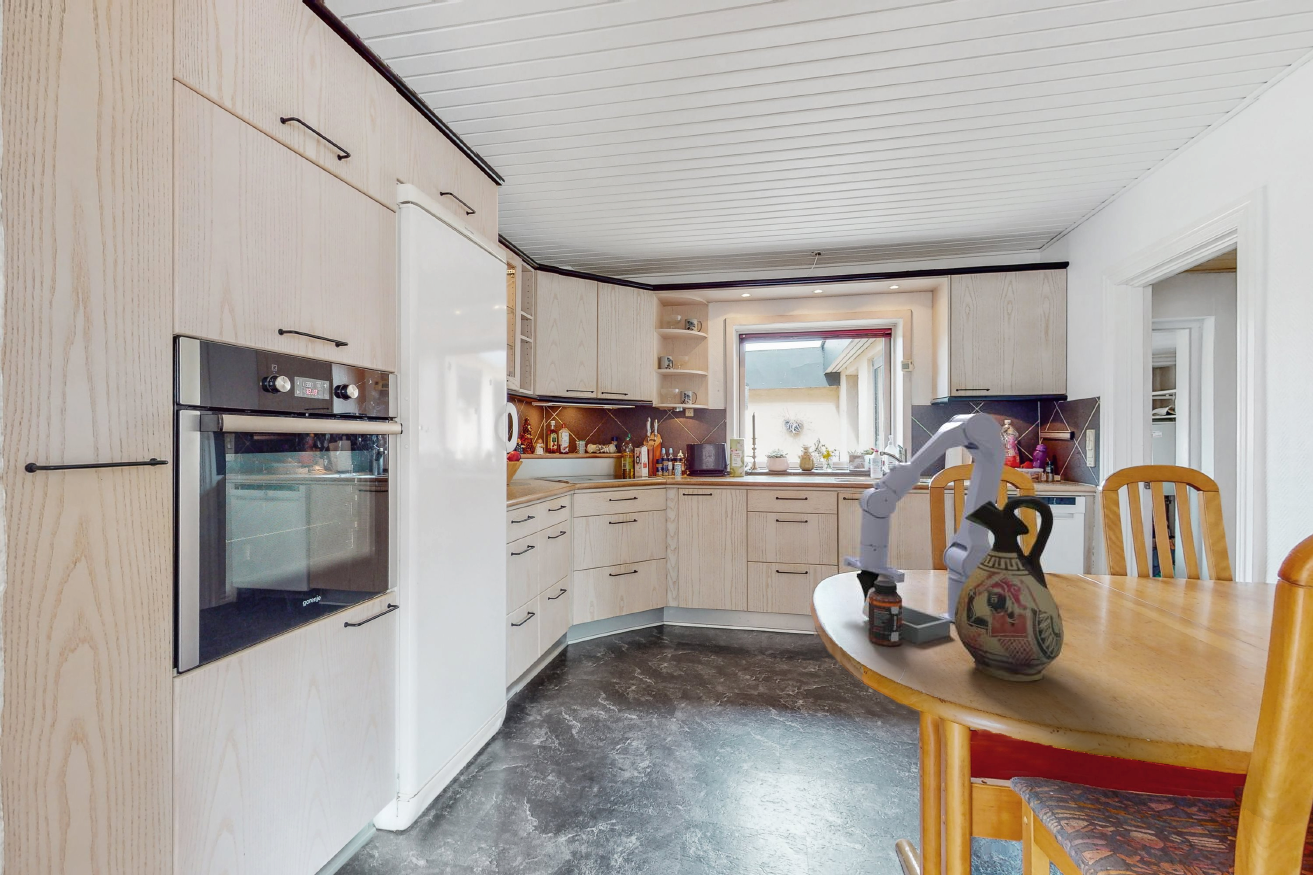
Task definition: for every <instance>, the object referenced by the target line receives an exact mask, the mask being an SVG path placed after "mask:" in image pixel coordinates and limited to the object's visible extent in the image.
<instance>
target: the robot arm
mask: <svg viewBox="0 0 1313 875" xmlns="http://www.w3.org/2000/svg"><path fill="white" fill-rule="evenodd" d="M1002 429H1003V427H1002V426H1001V424H1000V423H999V422H998V421H997V420H996V419H995V418H994V417H993V416H992V415H990V414H989V413H985V412H977V413H971V414H970V413H969V414H957V415H954V416H952V417H951V418H950V419H949V420H948V422H945V423H944V424H942V425H941V426H940V428H939V429H938V431H937V432H935V433H934V434H933V435H932V437H930V439H929V440H928V441H927V442H926V443H925V444H924V445H923V446H922V447H921V448H920V449H919V450H918V451H917V452H916V453H915V454H914V455H913V456H912V457H911V458H910V459H909V461H907V462H898V463H897V464H892V465H890V466H889V467H888V472H887V473H886V474H884V476H883V477H882V478H880V480H879V481H874V482H873V483H872V486H873V487H872V488H866V490H864V491H863V492H862V493H861V495H860V498H859V499H858V505H859V507H860V509H861V510H862V512H861V525H860V541H859V554H858V555H859V558H858V557H853V556H844V557H843V558H844V559H843V565H844V566H845V567H851V568H854V569H857V570H860V572H859V573H856V578H857V580H858V582H859V584H860V587H861V590H862V593H863V597H864V598H863V601H864V604H865V601H866V598H867V595H868V592H869V590H870V589H871V588H873V587H874V582H875V581H877V580H878V577H879V575H884V576H885V577H887V578H888V579H890V580H893V581H894V582H895V583H896V584H899V583H900V584H901V583H905V579H906V578H905V574H906V573H905V572H902V571H901V570H900V571H899V570H898V569H895V568H894V567H891V566H889V565H888V563H889V562H888V561H889V545H890V543H889V542H890V530H891V529H890V528H891V525H890V522H891V515H892V514H894V513H895V511H896V508H897V503H898V502H900V501H901V500H902V499H903V498H904V497H905V496H907V494H908V493H909V492H910V491H912V490H913V489H914V488H915V487H916V486H918V484H919V483H920V481H921V473H922V472H924V471H925V470H926V469H927V468H928V467H930V465H932V463H934V462H936V460H938V458H940V457H941V456H942V455H943V454H945V453H946V452H947V451H948V450H949V449H953V448H954V449H955V448H958V447H963V448H964V449H965V450H966V452H968V453H969V454H970V456H971V457H972V458H973V459H974V463H973V468H972V472H971V476H970V477H971V478H970V482H969V485H968V489H967V493H966V494H967V495H966V498H965V503H964V507H963V511H962V515H961V516H962V517H961V520H960V525H959V528H958V529H959V530H957V532H956V533H955V534H953V535H952V537H951V538H950V539H951V540H950V542H949V545H948V546H947V547H946V549H945V550H944V551H943V553H942V554H943V555H942V561H943V564H944V566H946V568H947V569H948V574H947V612H946V613H941V614H938V615H937V616H939V617H942V618H945V619H948V620H950V622H951V623H955V610H956V606H957V602H958V598H959V595H960V593H961V590H962V588H963V586H964V584H965V582H966V581H967V579H968V578H969V577H970V575H971V574H972V573H973V571H974V570H975V568H976V567H977V566H978V565H979V563H980V562H981V561H982V560H983V559H984V558H985V556H986V555H987V554H988V553H989V552H990V550H991V549H992V547H993V546H992V545H991V543H990V541H989V539H988V537H989V532H990V530H989V529H987V528H985V527H983V526H981V525H978V524H976V523H973V522H971V521H969V520H967V519H965V517H967V516H968V515H969V514H970V513H972V512H974V511H975V510H976V509H978V508H979V507H980V506H981V505H983V504H985V503H986V502H988V501H992V502H993V503H994V504H995V505H996V501H997V499H998V493H999V490H1000V489H999V488H1000V484H1001V481H1002V477H1003V472H1004V468H1005V462H1006V459H1007V454H1006V448H1005V445H1004V443H1003V438H1002V435H1001V433H1002Z"/></svg>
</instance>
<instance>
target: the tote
mask: <svg viewBox="0 0 1313 875" xmlns="http://www.w3.org/2000/svg"><path fill="white" fill-rule="evenodd" d="M948 636H951V621H950V620H948V619H945V618H942V617H939V616H938V615H935V614H932V613H929V612H926V611H923V610H920V609H916V608H913V607H910V606H907V605H903V604H902V639H904V640H907V641H910V642H911V643H912V642H913V643H914V644H917V645H919V644H924V643H926V642H930V641H934V640H939V639H941V638H945V637H948Z"/></svg>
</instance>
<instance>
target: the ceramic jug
mask: <svg viewBox="0 0 1313 875" xmlns="http://www.w3.org/2000/svg"><path fill="white" fill-rule="evenodd" d="M1021 508H1025V509H1029V510H1034V511H1035V512H1037V513H1038V514H1039V516H1040V519H1041V520H1040V525H1039V529H1038V531H1037V534H1036V538H1035V541H1034V543H1033V544H1032V546H1031V548H1030V550H1029V552H1028V554H1027V555H1025V552H1024V550H1023V549H1022V547H1021V545H1020V543H1019V540H1018V537H1019V536H1025V535H1028V534H1030V529H1029V527H1028V525H1027V524H1026V523H1025V522H1024V521H1023V520H1022V518H1020V517H1019V516H1017V515H1016V513H1015V511H1016V510H1017V509H1021ZM965 519H967V520H969V521H971V522H973V523H976V524H978V525H981V526H983V527H985V528H987V529H989V532H991V533H992V535H993V539H994V541H993V543H992V546H991V547H992V549H991V550H990V552H989V553H988V554H987V555H986V556H985V558H984V559H983V560H982V561H981V562H980V563H979V565H978V566H977V567H976V568H975V570H974V571H973V573H972V574H971V575H970V577H969V578H968V579H967V581H966V582H965V584H964V586H963V588H962V590H961V593H960V595H959V598H958V602H957V606H956V610H955V622H954V624H955V625H954V626H955V629H956V633H957V636H958V638H959V640H960V642H961V644H962V645H963V647H964V648H965V649H966V651H967V652H968V654H969V655H970V656H971V657H972V659H973V660H974V661H973V663H974V666H975V667H976V669H978V671H980V672H982V673H984V674H986V675H988V676H991V677H994V678H997V679H1000V680H1005V681H1011V682H1032V681H1037V680H1041V679H1043V676H1044V675H1043V674H1042V671H1043V670H1045V669H1046V668H1048V666H1049V665H1050V664H1051V663H1052V662H1054V661H1055V660H1056V659H1057V658H1059V657H1060V654H1061V652H1062V648H1063V644H1064V639H1065V638H1064V637H1065V636H1064V635H1065V633H1064V632H1065V630H1064V626H1063V625H1064V624H1063V618H1062V615H1061V612H1060V608H1059V607H1058V604H1057V603H1056V601H1055V599H1054V596H1053V595H1052V592H1051V591H1050V589H1049V587H1048V584H1047V581H1046V576H1045V573H1044V570H1043V568H1042V565H1041V562H1040V561H1041V557H1042V555H1043V552H1044V550H1046V549H1045V548H1046V546H1047V543H1048V540H1049V538H1050V536H1051V534H1052V531H1053V527H1054V515H1053V510H1052V508H1051V507H1050V505H1049V503H1048V502H1047V501H1045V500H1044V499H1042V498H1040V497H1038V496H1036V495H1029V494H1026V495H1025V494H1024V495H1017V496H1015V497H1012V498H1010V499H1009V500H1008V501H1006V503H1004V505H1003V507H1002V509H999V508H998V507H997V505H996V503H995V504H994V503H993V502H992V501H988V502H986V503H985V504H983V505H981V506H980V507H979V508H978V509H976V510H975V511H974V512H972V513H970V514H969V515H968V516H967V517H965Z"/></svg>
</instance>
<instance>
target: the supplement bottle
mask: <svg viewBox="0 0 1313 875" xmlns="http://www.w3.org/2000/svg"><path fill="white" fill-rule="evenodd" d="M897 586H898V583H896V582H892V581H885V580H878V581H875V582H874V589H875V590H874V591H873V592H871V593H870V594H869V618H868V632H867V633H868V639H869V641H871V642H873V643H874V644H876V645H880V646H881V645H882V646H884V647H885V646H886V647H895V646H899V645H901V643H902V641H903V640H902V639H903V638H902V621H903V620H902V606H903V598H902V596H901V595H900V594H899V593H898V588H897Z"/></svg>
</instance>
